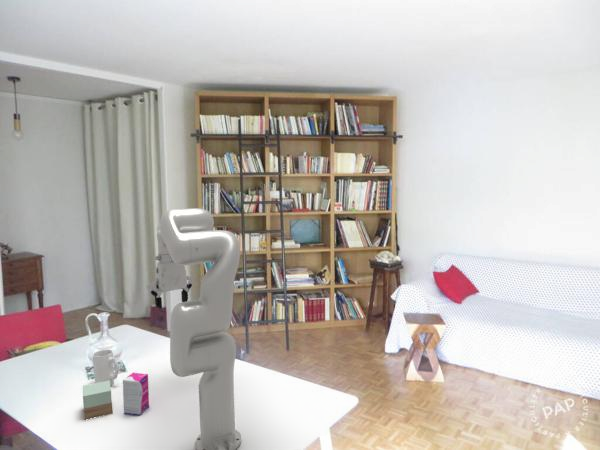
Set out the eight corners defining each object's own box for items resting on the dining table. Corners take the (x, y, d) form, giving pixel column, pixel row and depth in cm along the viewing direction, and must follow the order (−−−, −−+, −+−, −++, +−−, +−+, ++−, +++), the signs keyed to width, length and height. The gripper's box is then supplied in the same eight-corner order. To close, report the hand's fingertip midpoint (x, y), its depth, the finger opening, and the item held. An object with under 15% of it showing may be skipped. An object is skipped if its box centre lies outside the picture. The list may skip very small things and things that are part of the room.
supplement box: (140, 416, 137) (138, 381, 135) (123, 414, 138) (121, 380, 137) (150, 406, 142) (148, 373, 141) (133, 405, 143) (131, 372, 142)
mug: (90, 387, 157) (88, 355, 155) (104, 379, 163) (102, 348, 162) (112, 391, 153) (110, 358, 152) (125, 383, 159) (124, 351, 158)
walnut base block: (112, 414, 139) (111, 402, 138) (84, 421, 135) (84, 408, 134) (110, 403, 146) (110, 391, 145) (84, 409, 142) (83, 397, 142)
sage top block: (111, 402, 138) (110, 390, 138) (83, 408, 135) (82, 396, 134) (110, 391, 145) (109, 380, 145) (83, 397, 142) (82, 385, 141)
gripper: (150, 262, 145) (153, 312, 146) (197, 255, 156) (199, 302, 158) (141, 259, 150) (144, 307, 152) (187, 253, 162) (189, 298, 163)
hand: (172, 305), depth 155 cm, fingers open, 9 cm apart
